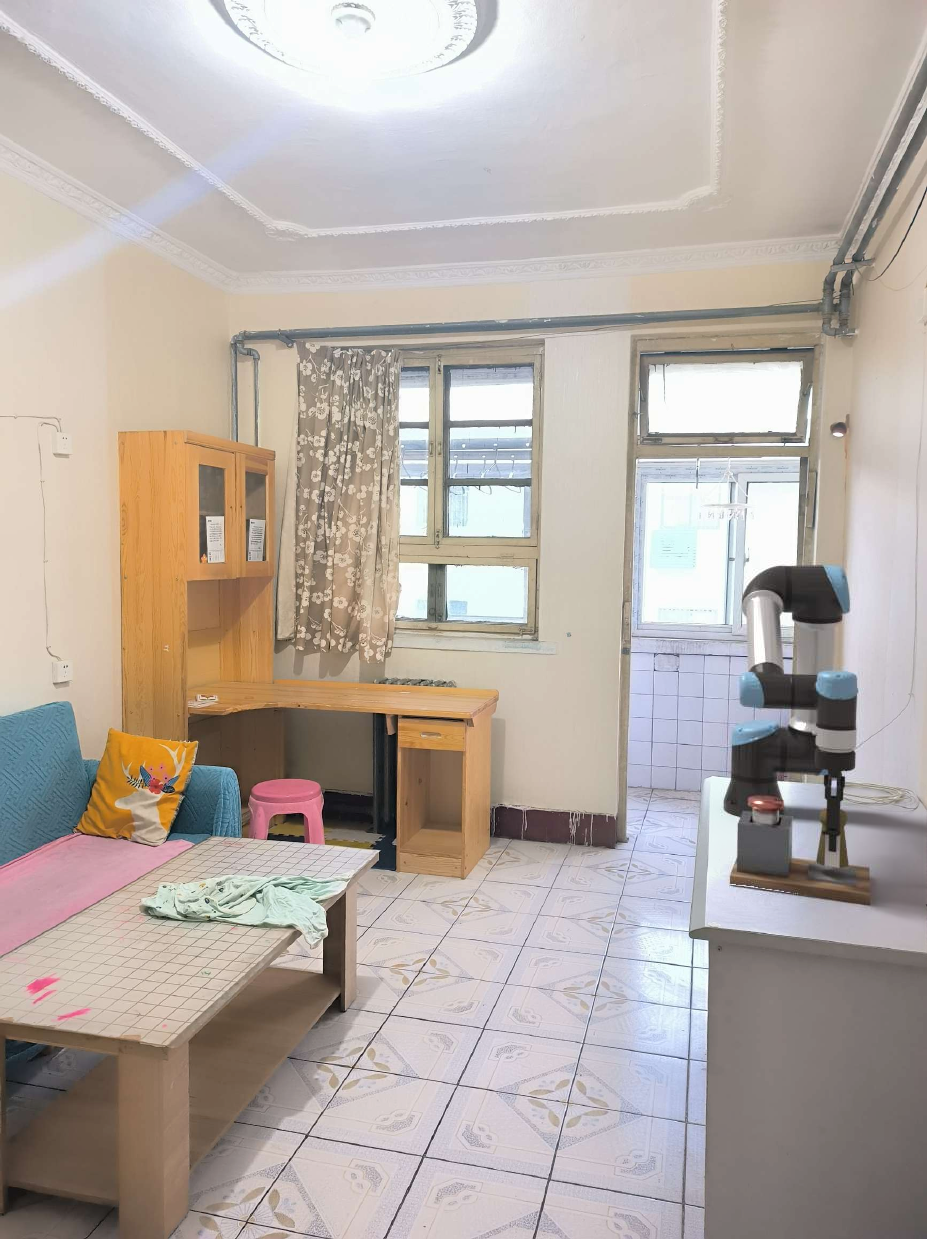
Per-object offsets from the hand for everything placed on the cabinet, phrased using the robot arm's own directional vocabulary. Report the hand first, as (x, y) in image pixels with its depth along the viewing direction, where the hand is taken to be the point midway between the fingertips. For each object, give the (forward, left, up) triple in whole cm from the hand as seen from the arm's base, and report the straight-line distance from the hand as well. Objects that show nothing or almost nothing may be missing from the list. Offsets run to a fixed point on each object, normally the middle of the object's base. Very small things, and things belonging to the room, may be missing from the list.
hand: (832, 860), depth 179 cm
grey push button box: (0, -13, -3) cm, 13 cm away
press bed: (0, -6, -5) cm, 8 cm away
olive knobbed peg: (0, 0, -1) cm, 1 cm away
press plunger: (0, -13, +2) cm, 13 cm away
